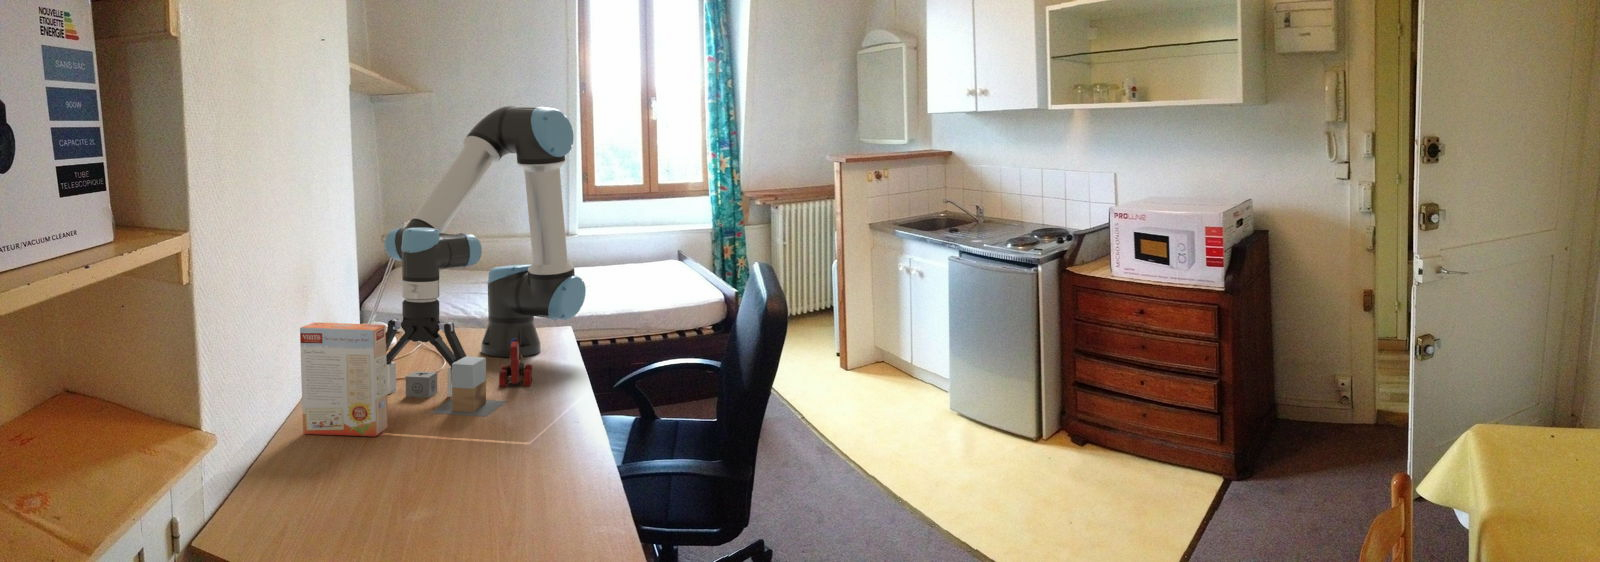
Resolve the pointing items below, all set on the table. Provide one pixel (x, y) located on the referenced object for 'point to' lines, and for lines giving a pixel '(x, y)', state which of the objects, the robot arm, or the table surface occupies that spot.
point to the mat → (482, 411)
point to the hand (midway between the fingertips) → (421, 394)
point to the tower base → (468, 398)
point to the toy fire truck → (515, 368)
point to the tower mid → (468, 372)
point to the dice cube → (421, 384)
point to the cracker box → (344, 379)
